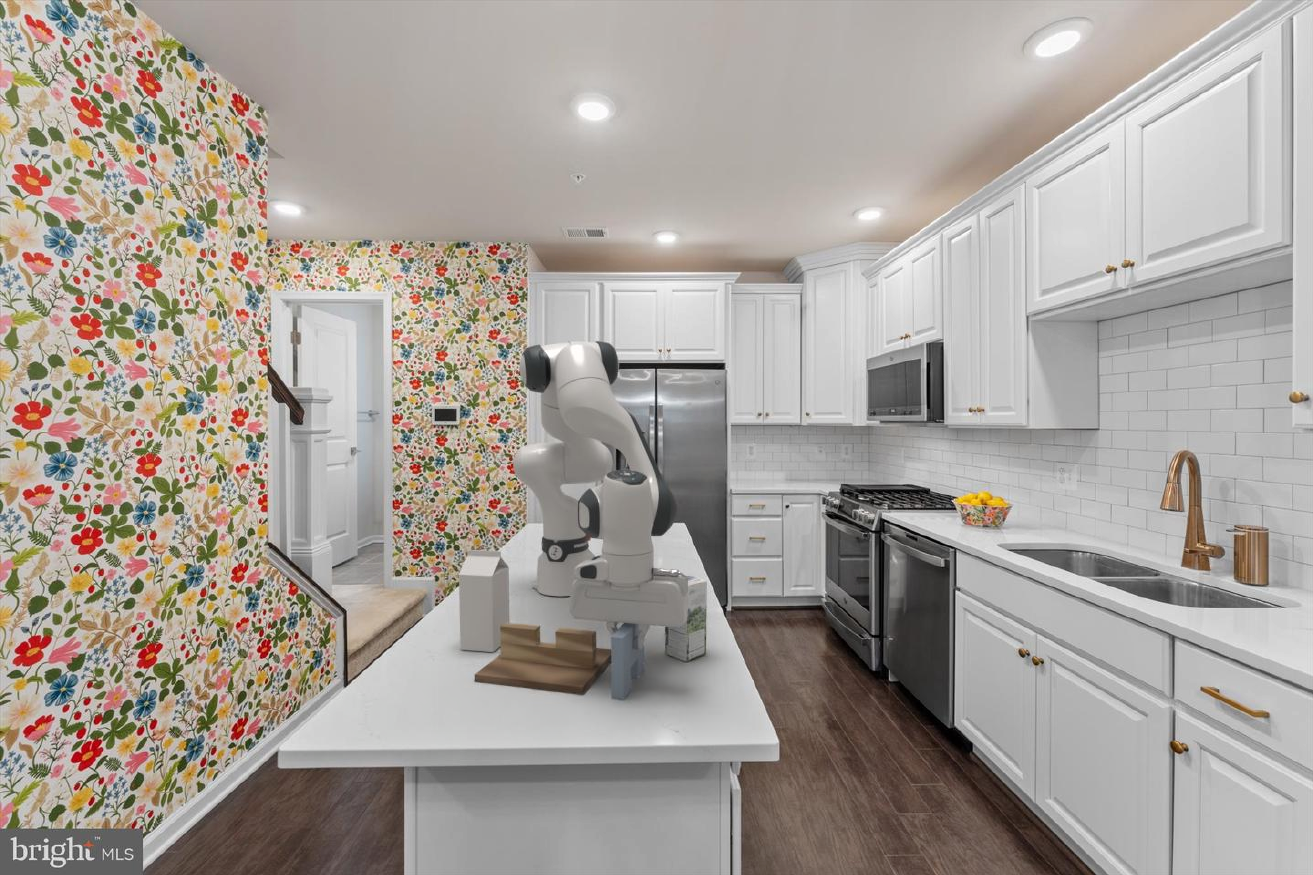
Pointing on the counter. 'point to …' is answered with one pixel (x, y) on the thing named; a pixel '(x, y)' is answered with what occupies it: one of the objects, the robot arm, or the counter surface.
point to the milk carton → (483, 600)
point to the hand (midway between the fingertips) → (628, 647)
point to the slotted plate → (625, 659)
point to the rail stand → (546, 660)
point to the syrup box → (690, 624)
